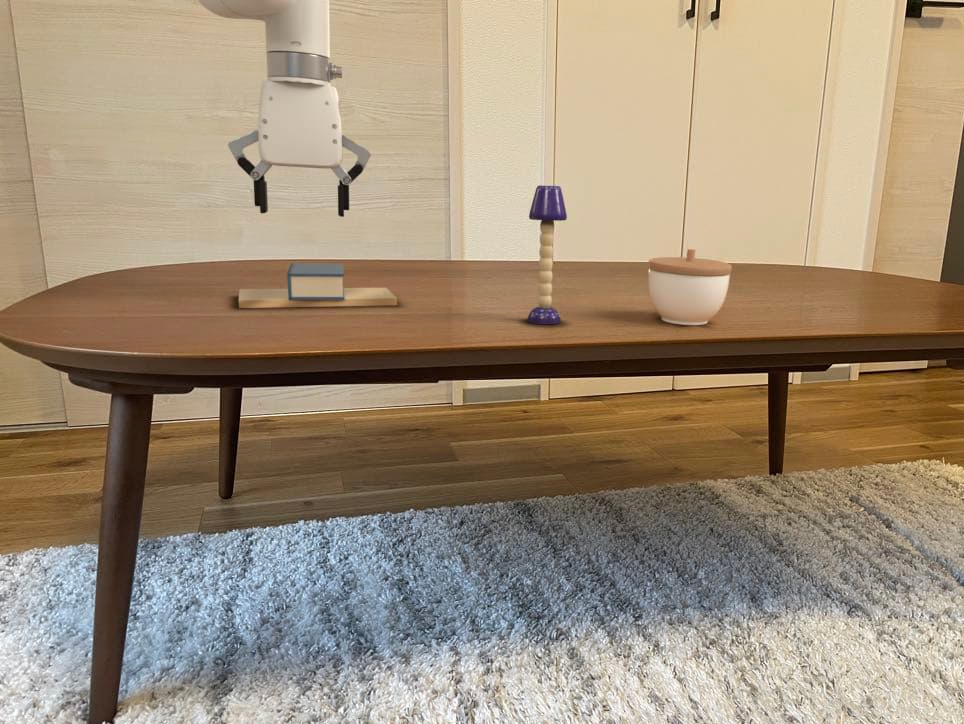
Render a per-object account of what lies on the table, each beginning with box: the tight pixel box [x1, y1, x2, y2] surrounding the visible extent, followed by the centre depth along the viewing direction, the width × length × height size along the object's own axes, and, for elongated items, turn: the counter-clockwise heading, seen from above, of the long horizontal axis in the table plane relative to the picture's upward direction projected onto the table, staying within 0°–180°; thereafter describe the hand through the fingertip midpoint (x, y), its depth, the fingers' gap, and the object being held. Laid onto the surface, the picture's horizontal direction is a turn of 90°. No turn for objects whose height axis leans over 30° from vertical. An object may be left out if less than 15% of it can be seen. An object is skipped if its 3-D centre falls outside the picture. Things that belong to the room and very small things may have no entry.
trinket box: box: [647, 248, 733, 326], centre depth 102 cm, size 11×11×9 cm
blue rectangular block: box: [286, 262, 345, 300], centre depth 105 cm, size 10×7×3 cm
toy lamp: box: [527, 185, 568, 325], centre depth 97 cm, size 5×5×17 cm
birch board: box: [238, 287, 398, 309], centre depth 106 cm, size 20×9×1 cm, turn 109°
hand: (303, 214), depth 101 cm, fingers open, 9 cm apart
